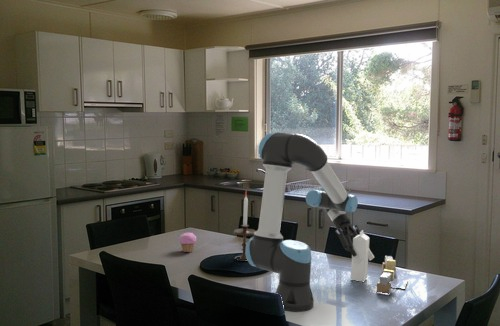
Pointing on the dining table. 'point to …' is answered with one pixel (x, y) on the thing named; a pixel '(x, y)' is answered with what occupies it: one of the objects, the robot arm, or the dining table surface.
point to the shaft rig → (386, 275)
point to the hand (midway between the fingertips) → (366, 260)
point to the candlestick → (244, 230)
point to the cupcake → (187, 241)
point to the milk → (363, 249)
